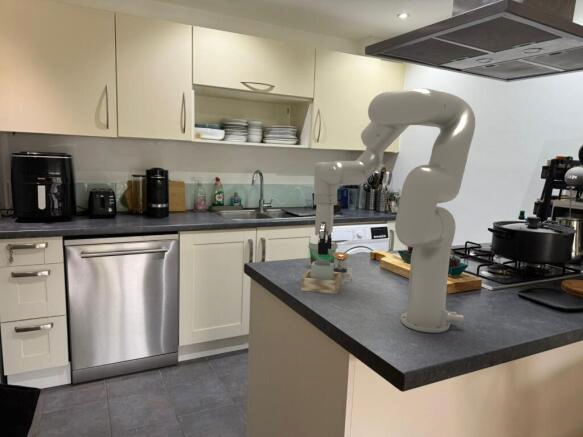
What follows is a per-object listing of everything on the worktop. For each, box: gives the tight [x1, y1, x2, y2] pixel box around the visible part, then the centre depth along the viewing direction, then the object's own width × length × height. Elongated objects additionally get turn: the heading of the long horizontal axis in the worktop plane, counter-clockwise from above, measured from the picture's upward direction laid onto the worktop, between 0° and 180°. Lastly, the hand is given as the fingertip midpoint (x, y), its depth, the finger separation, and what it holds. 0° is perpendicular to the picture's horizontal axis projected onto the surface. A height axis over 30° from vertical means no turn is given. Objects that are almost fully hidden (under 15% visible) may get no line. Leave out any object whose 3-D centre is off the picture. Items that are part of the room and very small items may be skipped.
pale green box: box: [310, 260, 335, 280], centre depth 139 cm, size 5×7×8 cm
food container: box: [307, 241, 339, 266], centre depth 163 cm, size 12×6×10 cm, turn 111°
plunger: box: [333, 251, 350, 273], centre depth 149 cm, size 6×6×6 cm
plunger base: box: [334, 266, 353, 283], centre depth 150 cm, size 8×8×3 cm
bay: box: [300, 269, 342, 295], centre depth 139 cm, size 12×11×4 cm
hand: (324, 251), depth 137 cm, fingers open, 9 cm apart
